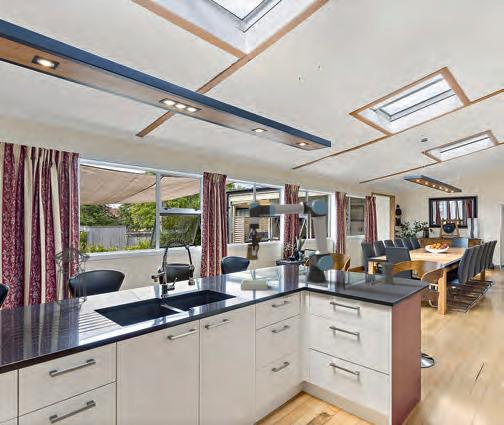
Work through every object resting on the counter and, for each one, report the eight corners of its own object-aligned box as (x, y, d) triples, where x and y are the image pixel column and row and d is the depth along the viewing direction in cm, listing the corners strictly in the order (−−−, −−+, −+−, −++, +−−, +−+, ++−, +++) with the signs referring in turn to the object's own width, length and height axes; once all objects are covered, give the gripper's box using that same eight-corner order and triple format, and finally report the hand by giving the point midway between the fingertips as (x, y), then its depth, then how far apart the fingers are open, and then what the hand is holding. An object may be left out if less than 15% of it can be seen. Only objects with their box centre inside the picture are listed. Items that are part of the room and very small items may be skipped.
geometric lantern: (79, 304, 190) (79, 245, 191) (91, 309, 180) (91, 246, 181) (49, 310, 178) (50, 247, 179) (60, 315, 168) (61, 248, 169)
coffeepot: (398, 283, 244) (398, 260, 245) (393, 285, 238) (393, 261, 238) (378, 280, 255) (378, 258, 256) (373, 282, 249) (373, 259, 249)
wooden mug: (265, 259, 235) (265, 234, 235) (250, 260, 228) (249, 235, 228) (258, 257, 243) (258, 234, 243) (243, 259, 235) (243, 234, 236)
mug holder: (267, 285, 240) (267, 280, 240) (267, 289, 226) (267, 284, 226) (242, 285, 241) (242, 280, 242) (240, 289, 227) (240, 283, 228)
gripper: (250, 223, 245) (250, 253, 245) (247, 223, 225) (248, 256, 224) (260, 223, 245) (260, 253, 244) (258, 223, 224) (258, 256, 224)
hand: (254, 254), depth 234 cm, fingers closed on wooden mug, 7 cm apart
